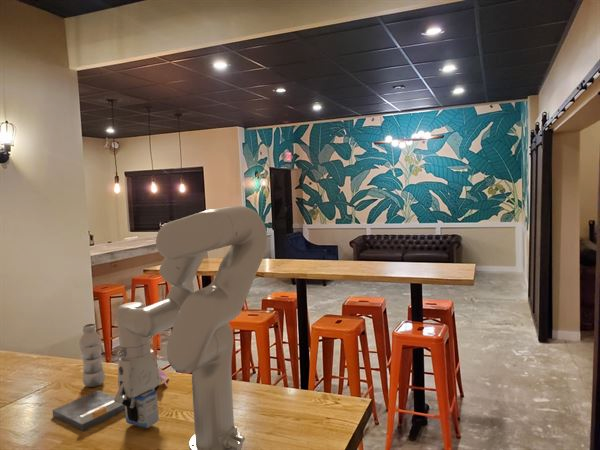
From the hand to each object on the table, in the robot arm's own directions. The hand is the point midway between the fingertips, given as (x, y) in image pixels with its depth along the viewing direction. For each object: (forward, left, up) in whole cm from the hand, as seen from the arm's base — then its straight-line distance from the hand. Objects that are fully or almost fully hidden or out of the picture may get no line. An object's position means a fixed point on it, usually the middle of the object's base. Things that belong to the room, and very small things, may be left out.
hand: (142, 414), depth 124 cm
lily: (+17, -18, -3) cm, 25 cm away
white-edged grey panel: (+19, +3, -3) cm, 19 cm away
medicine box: (0, 0, -2) cm, 2 cm away
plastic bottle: (+35, -8, -3) cm, 36 cm away
